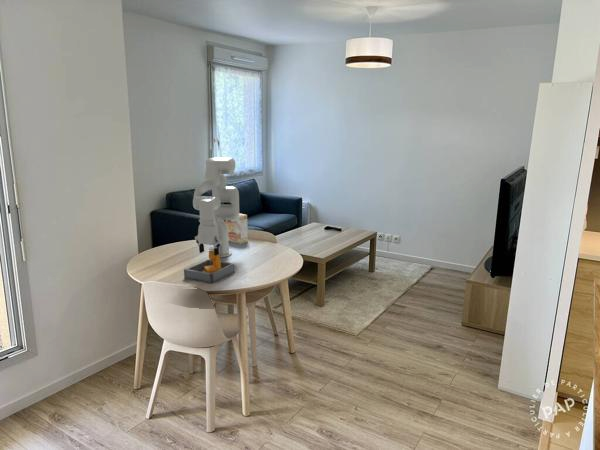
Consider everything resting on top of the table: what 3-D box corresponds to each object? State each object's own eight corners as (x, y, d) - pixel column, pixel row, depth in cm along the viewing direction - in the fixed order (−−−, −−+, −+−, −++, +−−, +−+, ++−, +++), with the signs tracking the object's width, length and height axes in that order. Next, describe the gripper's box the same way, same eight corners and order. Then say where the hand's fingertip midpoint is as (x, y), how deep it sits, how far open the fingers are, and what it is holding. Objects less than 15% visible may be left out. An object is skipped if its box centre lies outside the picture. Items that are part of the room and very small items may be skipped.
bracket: (204, 271, 241) (202, 249, 240) (217, 269, 244) (216, 248, 242) (208, 275, 232) (206, 253, 230) (221, 273, 234) (220, 251, 232)
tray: (184, 278, 233) (183, 269, 232) (208, 267, 250) (207, 259, 249) (212, 283, 225) (211, 274, 224) (234, 272, 242) (234, 263, 241)
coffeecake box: (226, 240, 310) (225, 213, 306) (233, 238, 316) (232, 211, 311) (240, 244, 301) (239, 216, 297) (248, 242, 306) (247, 214, 302)
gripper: (189, 222, 232) (191, 253, 236) (216, 225, 224) (218, 257, 229) (198, 219, 238) (200, 249, 243) (225, 222, 231) (226, 253, 235)
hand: (209, 253), depth 236 cm, fingers open, 9 cm apart
